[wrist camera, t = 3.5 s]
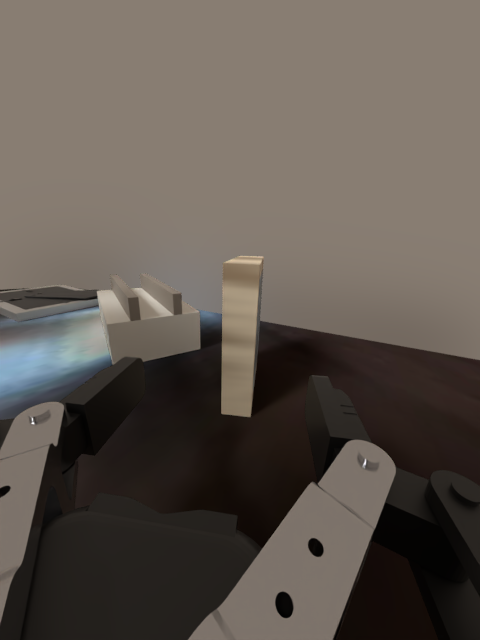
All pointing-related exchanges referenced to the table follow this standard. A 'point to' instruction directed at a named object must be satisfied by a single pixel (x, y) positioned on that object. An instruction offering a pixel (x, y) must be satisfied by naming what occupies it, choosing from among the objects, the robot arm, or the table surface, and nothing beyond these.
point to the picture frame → (45, 301)
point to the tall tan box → (240, 332)
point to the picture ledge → (147, 320)
